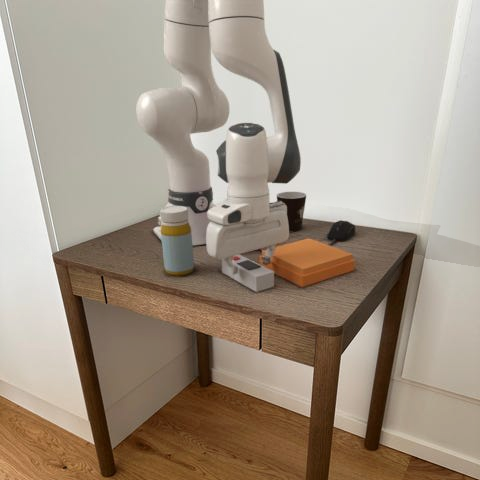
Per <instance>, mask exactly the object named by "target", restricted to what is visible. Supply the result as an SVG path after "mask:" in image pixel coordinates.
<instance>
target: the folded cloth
mask: <svg viewBox="0 0 480 480" xmlns="http://www.w3.org/2000/svg"><path fill="white" fill-rule="evenodd" d="M266 250H267V248H266V249H263V250H261V255H259V256H258V264H260V265H262V266H264V267H266V268H268V269H270V270H272V271H274V275H277V276H279V277H281V278H283V279H285V280H287V281H289V282H290V283H293V284H295V285H296V286H299V287H301V288H304V287H307V286H310V285H314V284H317V283H319V282H322V281H325V280H329V279H331V278H336V277H338V276H341V275H344V274H347V273H350V272H354V271H355V264H356V263H355V262H356V260H355V259H353V253H350V252H347V251H344V250H342V249H340V248H337V247H334V246H332V245H330V244H329V245H328V244H326V243H323V242H320V241H317V240H316V239H312V238H310V237H309V238H305V239H302V240H298V241H293V242H290V243H289V242H288V243H285V244H282V245H278V246H276V250H275V252H274V254H273V256H272V263H271V264H268V265H265V264H263V263H262V260H263V259H262V256H264V255H265V253H266Z"/></svg>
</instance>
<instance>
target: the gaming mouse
mask: <svg viewBox="0 0 480 480" xmlns="http://www.w3.org/2000/svg"><path fill="white" fill-rule="evenodd" d="M355 233H356V226H355V224H353V223H352V222H350V221H348V220H341V219H340V220H337V221H335V222H333V224H332V225H331V227H330V229H329V231H328V233H327V239H328V240H331V243H330V246H332V245H333V244H334V243H335V242H339V241H340V242H345V241H347V240H348V239H349V238H350V237H352V236H353V235H355Z"/></svg>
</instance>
